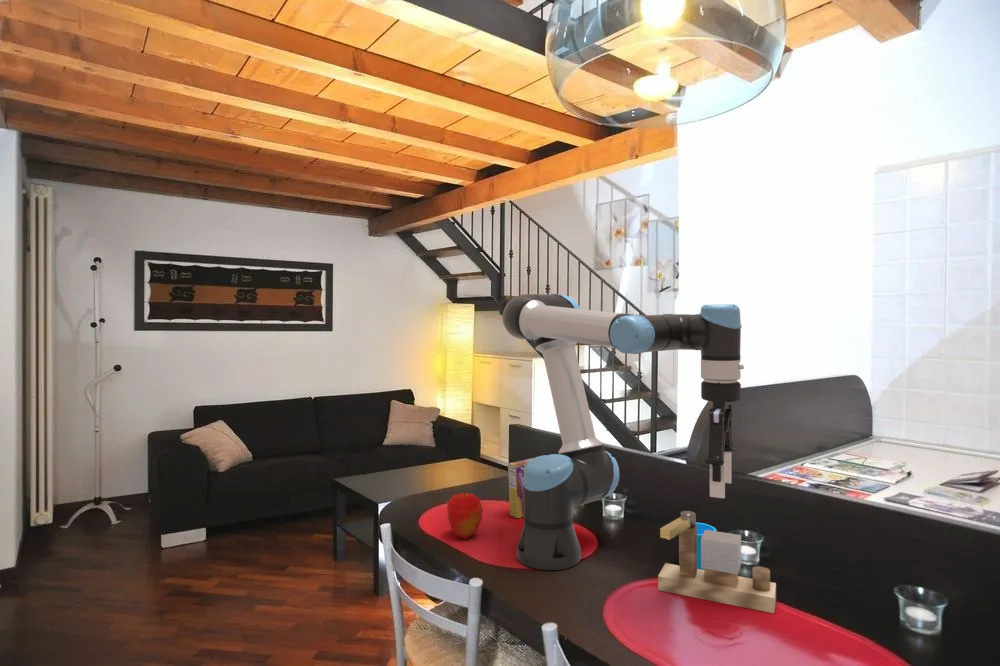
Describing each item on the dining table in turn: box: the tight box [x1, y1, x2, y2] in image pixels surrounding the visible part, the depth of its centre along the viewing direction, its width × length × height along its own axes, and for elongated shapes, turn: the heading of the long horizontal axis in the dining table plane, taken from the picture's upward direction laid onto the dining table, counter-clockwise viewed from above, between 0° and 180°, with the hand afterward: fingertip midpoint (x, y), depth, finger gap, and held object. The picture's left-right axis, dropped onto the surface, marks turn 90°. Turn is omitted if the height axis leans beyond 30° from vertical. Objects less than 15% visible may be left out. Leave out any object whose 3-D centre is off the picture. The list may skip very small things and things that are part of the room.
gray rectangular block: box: [701, 530, 742, 575], centre depth 121 cm, size 7×6×6 cm
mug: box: [678, 522, 717, 570], centre depth 138 cm, size 12×8×8 cm
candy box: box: [507, 458, 532, 519], centre depth 171 cm, size 9×4×15 cm, turn 127°
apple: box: [446, 492, 483, 540], centre depth 155 cm, size 9×9×12 cm
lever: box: [659, 510, 697, 541], centre depth 121 cm, size 12×3×2 cm, turn 137°
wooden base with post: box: [657, 525, 777, 614], centre depth 122 cm, size 22×7×13 cm, turn 62°
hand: (721, 489), depth 121 cm, fingers open, 10 cm apart
